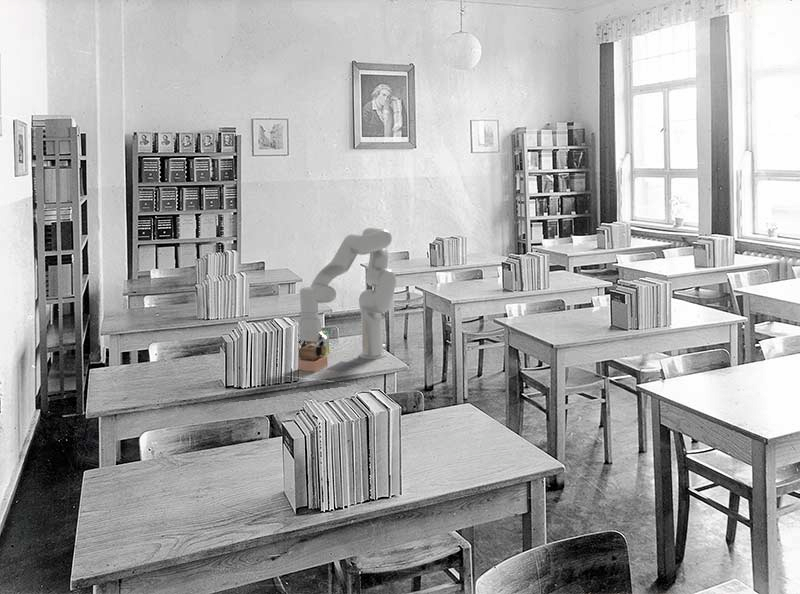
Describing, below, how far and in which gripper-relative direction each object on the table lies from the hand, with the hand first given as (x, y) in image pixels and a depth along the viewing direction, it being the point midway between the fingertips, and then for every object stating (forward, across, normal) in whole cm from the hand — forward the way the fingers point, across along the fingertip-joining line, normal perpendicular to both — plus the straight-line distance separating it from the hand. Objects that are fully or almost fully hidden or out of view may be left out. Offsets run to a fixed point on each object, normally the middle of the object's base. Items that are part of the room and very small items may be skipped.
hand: (311, 354), depth 325 cm
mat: (+7, +12, +7) cm, 15 cm away
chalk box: (+7, -9, +20) cm, 23 cm away
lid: (+1, 0, 0) cm, 1 cm away
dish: (+7, 0, 0) cm, 7 cm away
